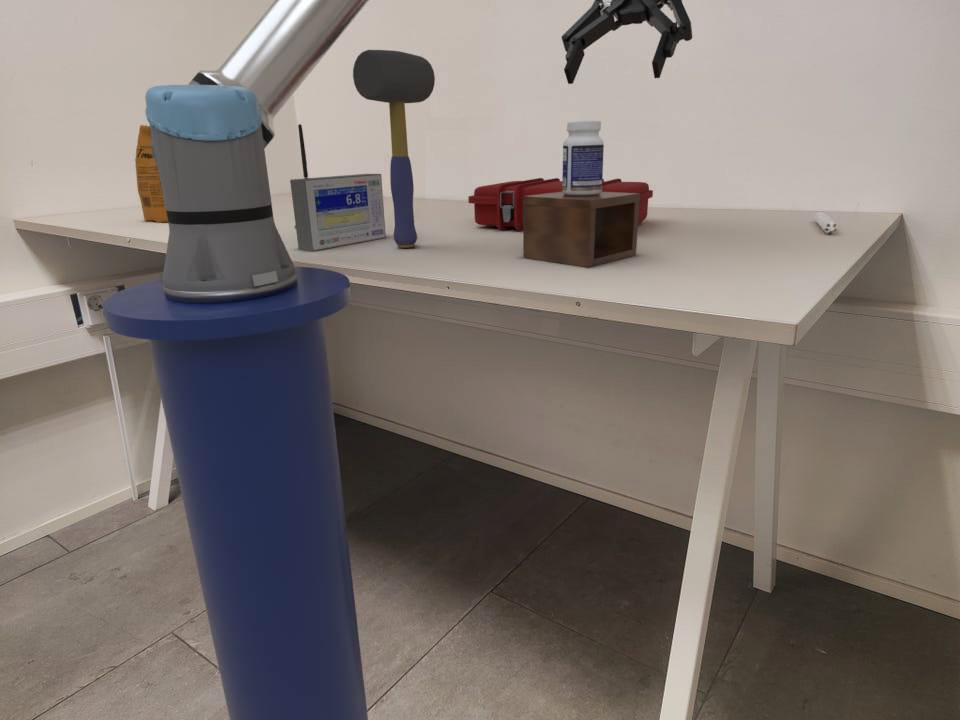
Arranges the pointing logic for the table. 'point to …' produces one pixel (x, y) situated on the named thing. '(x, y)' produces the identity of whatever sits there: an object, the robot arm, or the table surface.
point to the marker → (825, 222)
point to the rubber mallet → (396, 120)
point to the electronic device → (336, 208)
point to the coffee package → (149, 179)
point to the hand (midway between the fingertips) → (610, 73)
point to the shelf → (580, 227)
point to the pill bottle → (583, 159)
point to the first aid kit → (506, 199)
